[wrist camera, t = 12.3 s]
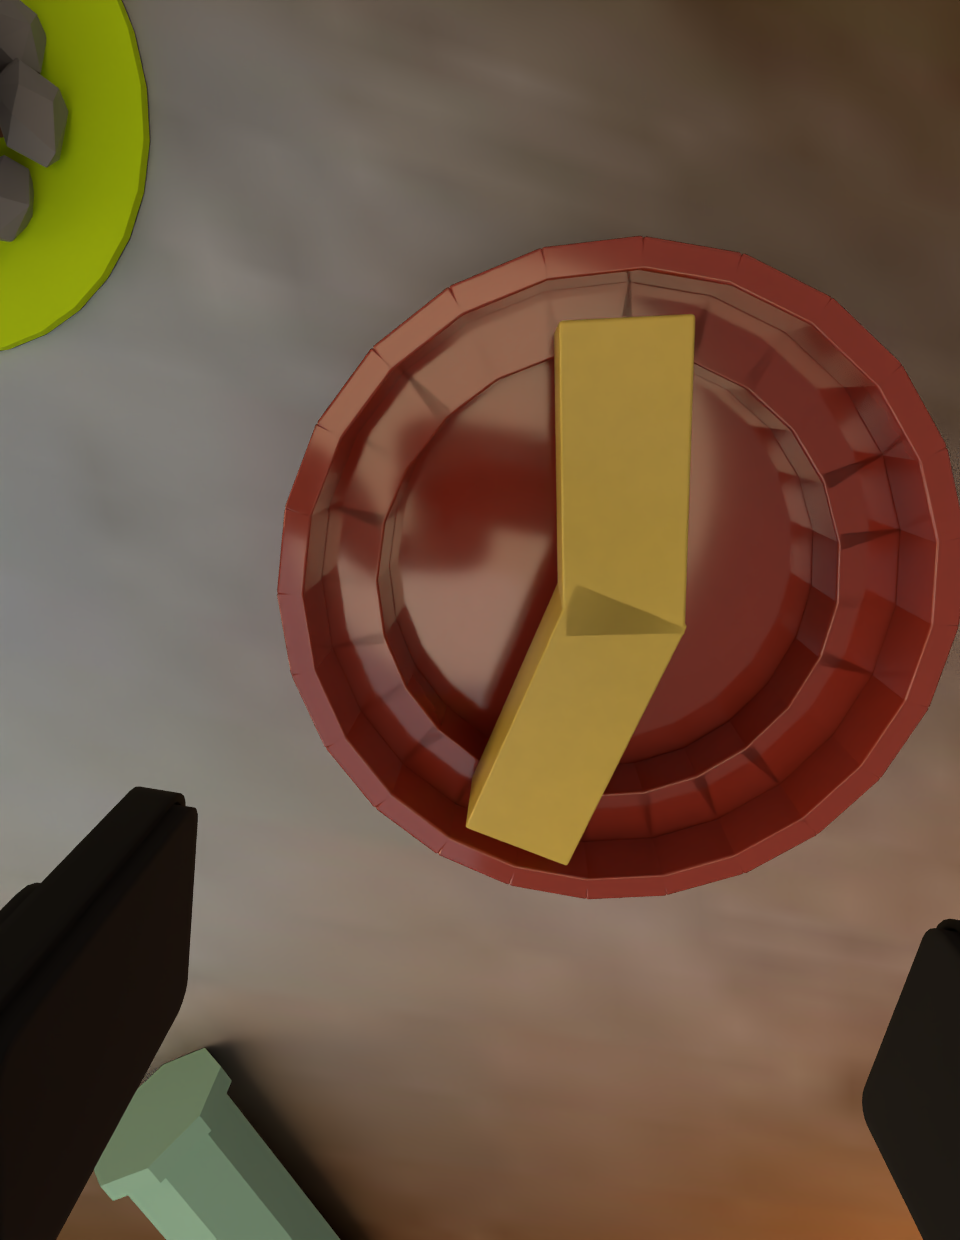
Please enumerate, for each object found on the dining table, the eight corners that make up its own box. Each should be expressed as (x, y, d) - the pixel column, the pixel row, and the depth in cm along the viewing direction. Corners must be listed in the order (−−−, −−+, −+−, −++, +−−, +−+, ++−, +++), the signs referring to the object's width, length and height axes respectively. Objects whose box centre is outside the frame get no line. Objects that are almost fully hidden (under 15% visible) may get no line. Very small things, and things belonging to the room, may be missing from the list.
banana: (468, 795, 27) (461, 847, 24) (558, 305, 22) (564, 291, 19) (611, 821, 27) (622, 876, 23) (731, 336, 22) (764, 326, 19)
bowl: (296, 769, 30) (253, 841, 25) (355, 221, 24) (314, 178, 19) (792, 856, 30) (843, 945, 25) (965, 326, 24) (1075, 308, 19)
